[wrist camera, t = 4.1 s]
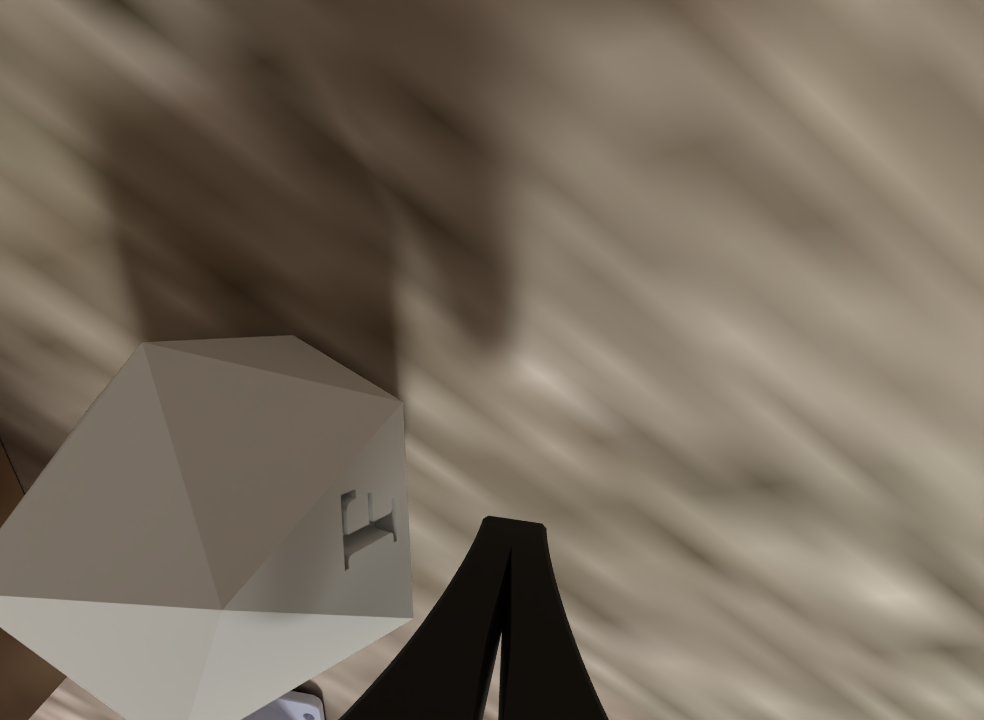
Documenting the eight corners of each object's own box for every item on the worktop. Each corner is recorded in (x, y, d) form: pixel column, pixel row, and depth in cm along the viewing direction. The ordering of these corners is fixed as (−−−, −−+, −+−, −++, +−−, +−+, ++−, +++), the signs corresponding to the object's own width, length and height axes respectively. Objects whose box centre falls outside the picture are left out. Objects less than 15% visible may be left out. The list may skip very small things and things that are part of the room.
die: (392, 553, 18) (492, 759, 10) (109, 611, 15) (-142, 1010, 6) (381, 331, 18) (476, 330, 9) (84, 342, 15) (-232, 358, 6)
